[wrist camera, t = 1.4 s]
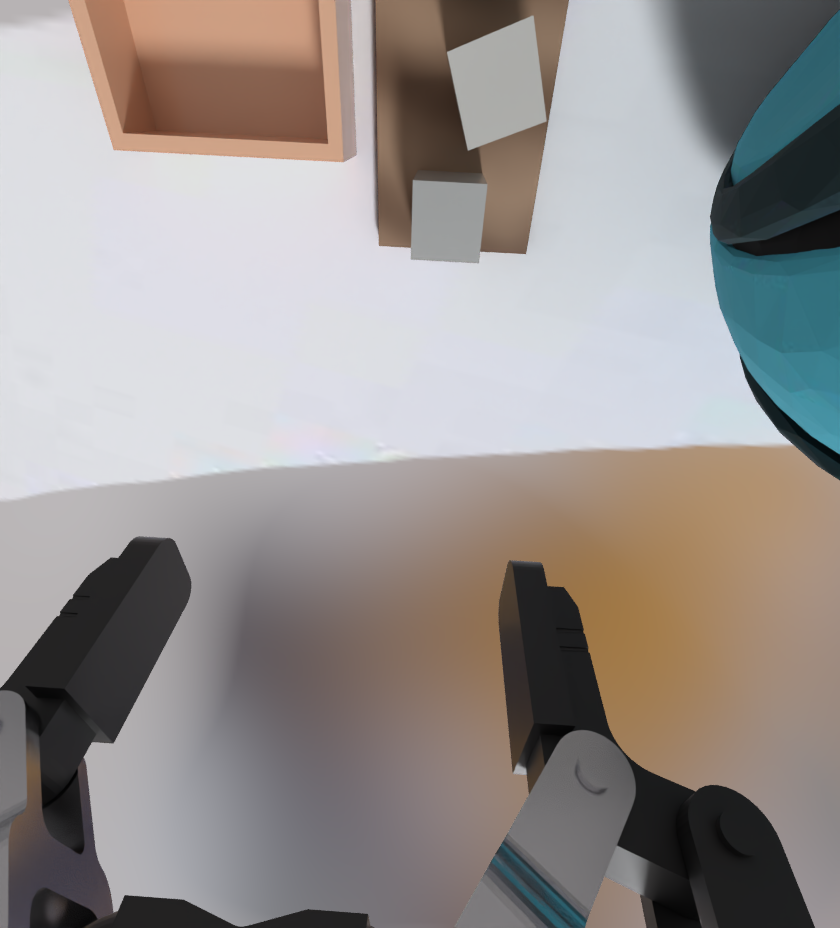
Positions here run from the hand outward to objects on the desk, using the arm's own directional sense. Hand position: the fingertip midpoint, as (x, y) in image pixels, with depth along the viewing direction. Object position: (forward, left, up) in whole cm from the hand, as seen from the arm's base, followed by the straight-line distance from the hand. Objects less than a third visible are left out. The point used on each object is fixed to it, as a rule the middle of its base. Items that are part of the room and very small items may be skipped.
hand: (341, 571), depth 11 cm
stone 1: (-4, +2, -27) cm, 27 cm away
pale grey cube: (-10, +4, -27) cm, 29 cm away
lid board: (-10, +3, -28) cm, 30 cm away
